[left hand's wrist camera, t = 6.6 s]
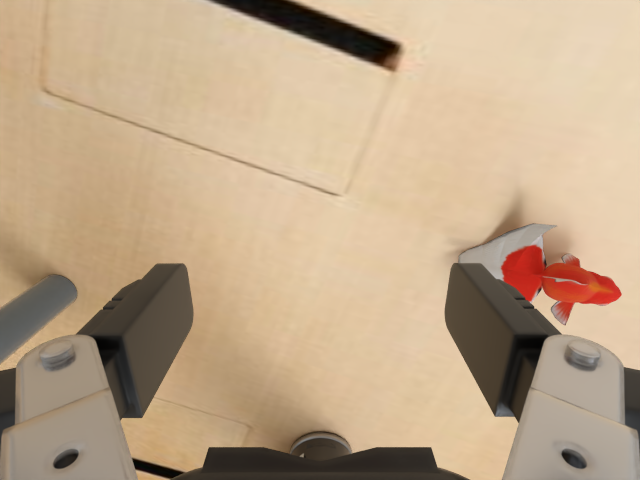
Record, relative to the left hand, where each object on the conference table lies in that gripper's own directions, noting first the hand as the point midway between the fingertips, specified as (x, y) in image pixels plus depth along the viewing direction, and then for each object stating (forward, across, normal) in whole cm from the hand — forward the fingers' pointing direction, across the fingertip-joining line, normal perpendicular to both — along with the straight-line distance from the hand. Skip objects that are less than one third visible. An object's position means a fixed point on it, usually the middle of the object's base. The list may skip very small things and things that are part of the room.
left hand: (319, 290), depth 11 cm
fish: (+29, +23, -13) cm, 40 cm away
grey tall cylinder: (+29, -32, -17) cm, 46 cm away
